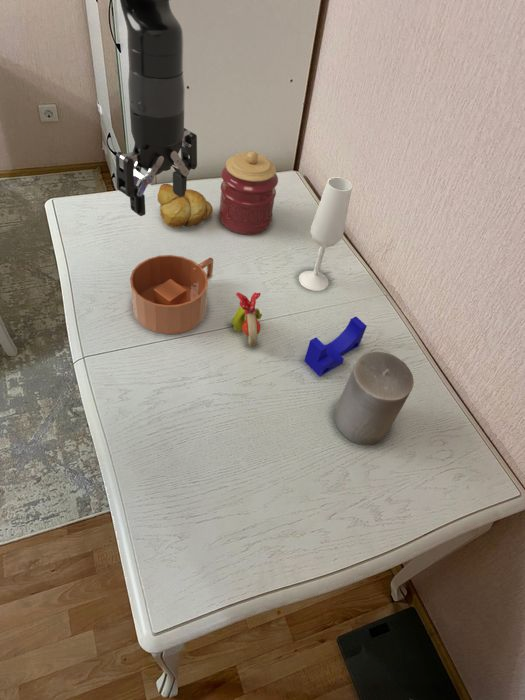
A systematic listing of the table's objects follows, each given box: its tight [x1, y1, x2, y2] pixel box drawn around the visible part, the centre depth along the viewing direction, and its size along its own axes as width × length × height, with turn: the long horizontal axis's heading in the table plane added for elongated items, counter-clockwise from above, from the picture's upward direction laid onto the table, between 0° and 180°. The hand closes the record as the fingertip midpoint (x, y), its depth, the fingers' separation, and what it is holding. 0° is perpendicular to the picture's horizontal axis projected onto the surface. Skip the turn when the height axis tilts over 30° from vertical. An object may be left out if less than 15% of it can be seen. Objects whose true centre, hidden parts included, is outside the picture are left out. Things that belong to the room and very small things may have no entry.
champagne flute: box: [298, 176, 353, 292], centre depth 103 cm, size 7×7×24 cm
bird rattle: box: [230, 292, 263, 347], centre depth 95 cm, size 6×11×9 cm
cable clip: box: [303, 316, 368, 377], centre depth 96 cm, size 12×4×6 cm, turn 128°
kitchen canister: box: [218, 150, 279, 236], centre depth 117 cm, size 13×13×18 cm
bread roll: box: [157, 183, 214, 228], centre depth 117 cm, size 13×10×8 cm
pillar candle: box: [333, 350, 415, 446], centre depth 83 cm, size 10×10×15 cm
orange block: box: [153, 279, 187, 305], centre depth 99 cm, size 4×4×4 cm
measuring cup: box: [129, 254, 214, 335], centre depth 99 cm, size 19×14×8 cm
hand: (159, 203), depth 82 cm, fingers open, 8 cm apart
